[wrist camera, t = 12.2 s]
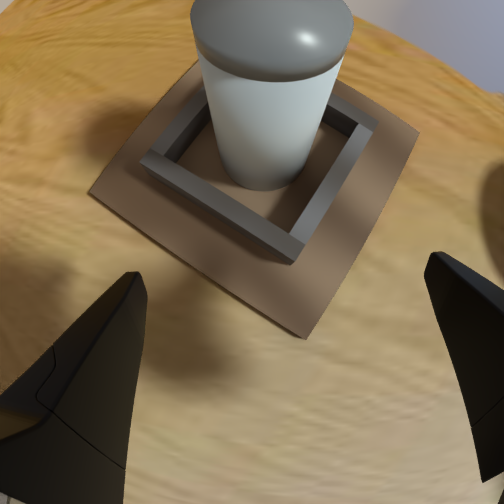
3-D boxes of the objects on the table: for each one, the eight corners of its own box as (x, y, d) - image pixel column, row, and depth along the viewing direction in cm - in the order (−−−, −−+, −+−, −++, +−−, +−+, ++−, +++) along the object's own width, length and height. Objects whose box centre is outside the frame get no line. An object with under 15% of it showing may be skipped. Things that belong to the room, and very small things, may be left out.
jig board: (303, 338, 18) (312, 345, 15) (93, 194, 19) (74, 181, 16) (416, 136, 20) (432, 119, 17) (231, 35, 21) (229, 12, 18)
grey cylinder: (245, 206, 18) (235, 85, 7) (205, 137, 19) (168, -3, 8) (322, 168, 19) (385, 39, 8) (278, 104, 19) (296, -37, 8)
